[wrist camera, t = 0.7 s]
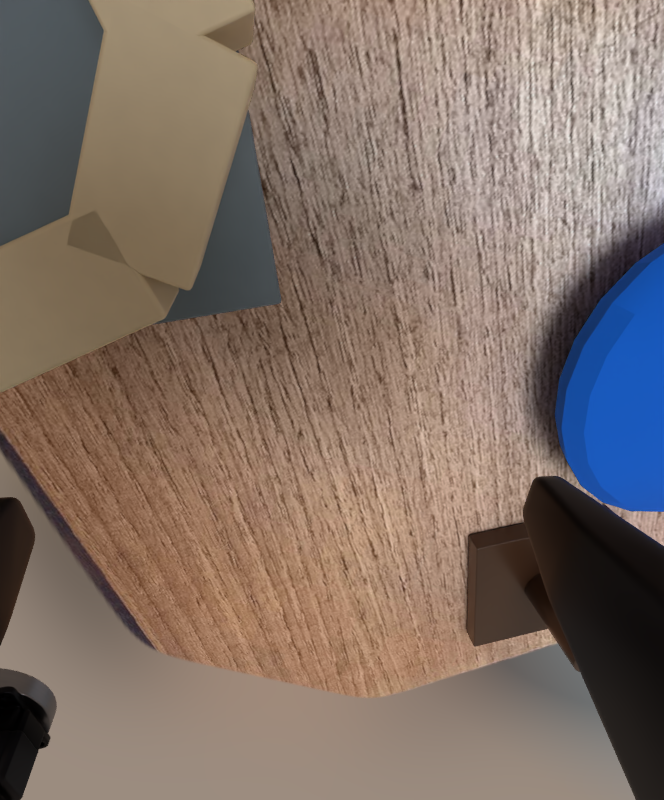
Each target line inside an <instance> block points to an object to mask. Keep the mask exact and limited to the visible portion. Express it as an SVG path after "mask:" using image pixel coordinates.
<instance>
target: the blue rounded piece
mask: <svg viewBox="0 0 664 800" xmlns="http://www.w3.org/2000/svg"><path fill="white" fill-rule="evenodd" d="M555 419H556V425H557V431H558V437H559V443H560V447H561V449H562V451H563V454H564V456H565V458H566V460H567V462H568V464H569V466H570V467H571V469H572V471H573V473H574V474H575V476H576V478H577V479H578V481H579V483H580V485H581V486H582V487H583V488H585V489H586V490H587V491H589V492H590V493H591V494H593V495H594V496H595V497H596V498H598V499H599V500H600V501H602V502H603V503H606V504H610V505H613V506H616V507H619V508H622V509H626V510H629V511H658V512H664V243H663V244H662V245H660V246H659V247H657V248H656V249H655V250H653V251H652V252H650V253H649V254H648V255H646V256H645V257H643V258H642V259H641V260H639V261H638V262H636V263H635V264H634V265H633V266H632V267H631V268H630V269H629V270H628V271H627V272H626V273H625V274H624V275H623V276H622V278H621V279H620V280H619V281H618V282H617V283H616V284H615V285H614V286H613V287H612V288H611V289H610V290H609V291H608V292H607V293H606V294H605V295H604V296H603V297H602V298H601V300H600V301H599V302H598V304H597V306H596V307H595V309H594V310H593V312H592V313H591V315H590V316H589V318H588V319H587V321H586V323H585V324H584V326H583V327H582V329H581V330H580V332H579V333H578V335H577V336H576V338H575V340H574V342H573V345H572V347H571V350H570V353H569V355H568V358H567V360H566V363H565V366H564V368H563V371H562V373H561V376H560V378H559V385H558V393H557V401H556V409H555Z"/></svg>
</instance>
